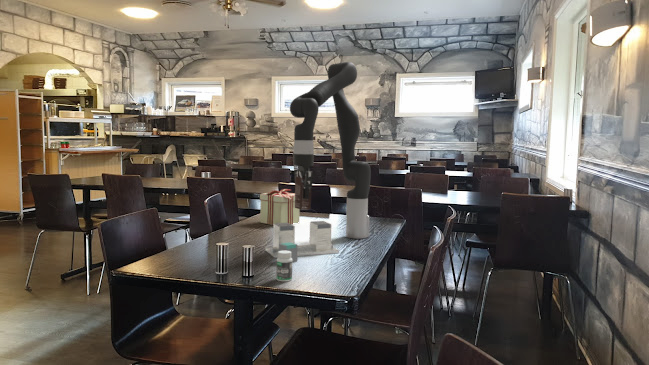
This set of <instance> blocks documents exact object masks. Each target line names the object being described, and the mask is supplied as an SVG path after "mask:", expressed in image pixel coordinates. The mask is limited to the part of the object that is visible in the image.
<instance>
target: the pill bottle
mask: <svg viewBox="0 0 649 365" xmlns="http://www.w3.org/2000/svg"><path fill="white" fill-rule="evenodd" d="M292 261H293V260H292V258H291V251H286V250H283V251H278V258H276V269H275V270H276V274H275V276H276V278H275V279H276V280H277V281H278V282H283V283H284V282H291V281H292V279H293V262H292Z"/></svg>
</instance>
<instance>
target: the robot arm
mask: <svg viewBox="0 0 649 365" xmlns="http://www.w3.org/2000/svg"><path fill="white" fill-rule="evenodd" d="M357 77H358V70H357V67H356V65H355V64H354V63H353V62H350V61H347V62H346V61H345V62H338V63H332V64H330V65H329V67H328V69H327V79H326V80H323V81H321V82H319V83H318V84H317V85H314V87H312V88H311V89H310V90H309V91H307V92H305V93H303V94H301V95H299V96H297V97H295V98H294V99H293V100H292V101H291V103H290V106H289V112H290V114H291V115H292V116H293V117H294V118H296V119H303V121H302V123H299V124H296V125H295V126H294V134H293V135H294V139H293V140H294V142H293V152H292V153H293V159H292V160H293V161H292V162H293V164H292V165H293V166H295V167H297V169H294V171H293V172H294V181H295V180H296V176H298V177H301V178H302V177H305V180H303V179H302V183H303V199H309V189H310V187H311V188H313V179H314V177H313V176H314V172H313V171H312V170H310V167H312V166H314V165H315V164H314V162H315V161H314V160H315V147H314V146H315V145H314V129H315V125H316V121H317V119H318V114H319V108H320V107H321V106H323V104H325V103H326V102H327V101H328V100H329V99H330V98H332V99H333V104H334V110H335V116H336V124H337V129H338V135H339V140H340V150H341V159H342V172H343V176H344V179H345V180H346V181H347V182H350V183H355V184H354V185H355V186H354V187H353V188H352V189H349V190H348V191H347V192H346V217H345V220H346V221H345V223H346V224H345V236H346V238H347V239H348V238H349V239H355V240H356V239H359V240H360V239H367V238H369V237H370V215H368V212H369V210H368V208H369V206H368V205H369V193H370V189H371V177H372V176H371V175H372V172H371V171H372V170H371V166H370V164H369V162H367V161H359V160H358V161H357V160H356V155H355V150H356V149H355V148H356V144H357V143H358V142H357V141H358V139H359V136H360V134H361V133H360V132H361V127H360V121H359V120H360V119H359V116H358V115H359V114H358V112H357V110H355V108H354V107H353V105H352V104H351V103H350V101H349V100H348V99H347V96H346V95H345V92H344V89H345V88H347V87H348V86H351V85H353V84H354V83H355V82H356V80H357ZM307 183H308V184H307Z"/></svg>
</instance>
